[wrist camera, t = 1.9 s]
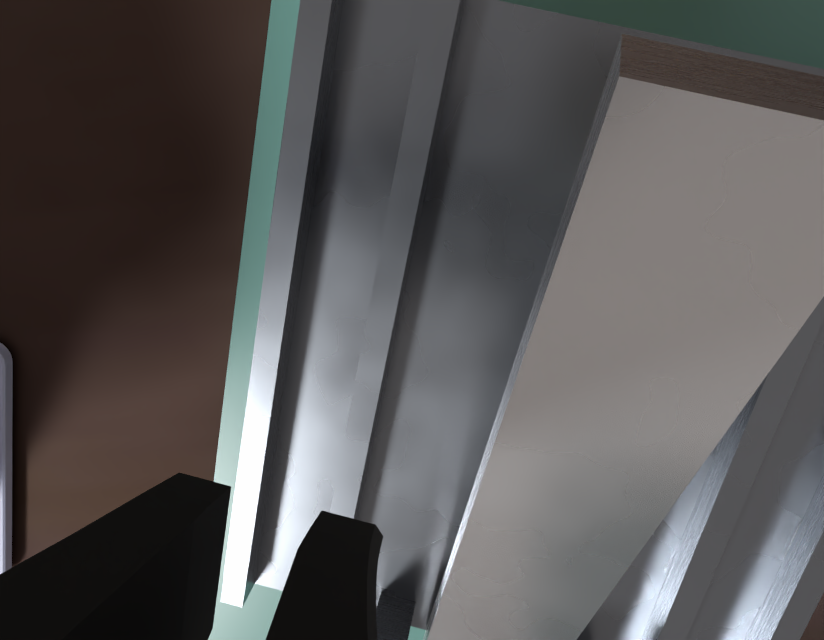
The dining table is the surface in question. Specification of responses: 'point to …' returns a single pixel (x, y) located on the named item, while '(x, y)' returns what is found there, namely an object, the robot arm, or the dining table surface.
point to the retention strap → (641, 331)
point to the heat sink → (476, 323)
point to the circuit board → (609, 3)
